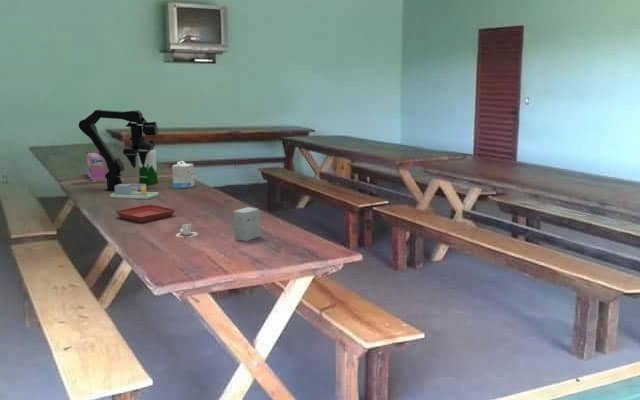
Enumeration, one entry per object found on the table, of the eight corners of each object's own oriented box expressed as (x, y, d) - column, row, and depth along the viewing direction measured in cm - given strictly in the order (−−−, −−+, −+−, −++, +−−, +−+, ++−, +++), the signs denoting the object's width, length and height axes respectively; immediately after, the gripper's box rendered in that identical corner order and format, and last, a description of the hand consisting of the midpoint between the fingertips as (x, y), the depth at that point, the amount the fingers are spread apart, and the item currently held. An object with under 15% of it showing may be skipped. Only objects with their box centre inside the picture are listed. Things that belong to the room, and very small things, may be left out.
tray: (109, 197, 305) (108, 194, 305) (120, 193, 315) (119, 190, 314) (149, 199, 300) (148, 196, 300) (159, 195, 310) (158, 192, 310)
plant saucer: (150, 211, 278) (150, 203, 277) (177, 216, 267) (176, 209, 266) (114, 218, 264) (114, 211, 263) (140, 225, 253) (140, 216, 252)
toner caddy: (115, 196, 307) (114, 185, 306) (120, 194, 312) (119, 184, 311) (143, 197, 304) (143, 186, 303) (149, 195, 308) (148, 185, 307)
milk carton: (160, 182, 345) (158, 146, 341) (150, 185, 337) (147, 148, 332) (146, 181, 348) (144, 145, 344) (136, 184, 340) (133, 147, 336)
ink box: (188, 188, 327) (186, 162, 325) (173, 188, 329) (171, 162, 326) (194, 185, 336) (193, 160, 333) (179, 185, 337) (178, 160, 335)
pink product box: (87, 175, 372) (85, 152, 370) (101, 174, 376) (99, 151, 373) (91, 181, 351) (89, 157, 348) (106, 180, 354) (104, 156, 352)
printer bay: (119, 192, 317) (119, 187, 317) (130, 189, 327) (130, 183, 326) (136, 193, 315) (135, 187, 315) (146, 189, 325) (146, 183, 324)
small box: (248, 234, 235) (247, 206, 233) (260, 236, 232) (259, 208, 230) (233, 239, 229) (232, 210, 227) (245, 241, 226) (244, 212, 224)
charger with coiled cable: (180, 232, 241) (179, 221, 240) (200, 232, 240) (200, 222, 240) (172, 238, 233) (172, 227, 232) (194, 238, 232) (193, 227, 231)
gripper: (142, 137, 310) (144, 169, 313) (160, 133, 328) (161, 164, 331) (121, 137, 312) (123, 168, 315) (140, 133, 330) (142, 163, 333)
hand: (138, 166), depth 324 cm, fingers open, 9 cm apart
